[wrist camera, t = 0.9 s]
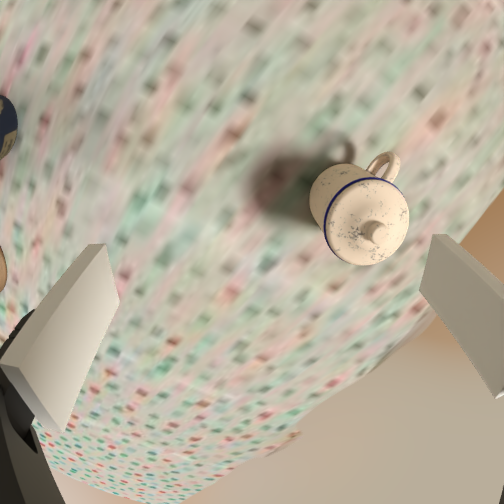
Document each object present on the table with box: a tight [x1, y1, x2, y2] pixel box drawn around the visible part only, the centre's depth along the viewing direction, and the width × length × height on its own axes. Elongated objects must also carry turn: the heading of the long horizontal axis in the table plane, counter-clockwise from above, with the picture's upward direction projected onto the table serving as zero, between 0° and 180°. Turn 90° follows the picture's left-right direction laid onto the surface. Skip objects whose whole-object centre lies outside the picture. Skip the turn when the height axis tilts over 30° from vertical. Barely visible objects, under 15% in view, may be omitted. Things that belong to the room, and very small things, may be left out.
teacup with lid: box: [309, 152, 409, 265], centre depth 31 cm, size 12×9×12 cm
